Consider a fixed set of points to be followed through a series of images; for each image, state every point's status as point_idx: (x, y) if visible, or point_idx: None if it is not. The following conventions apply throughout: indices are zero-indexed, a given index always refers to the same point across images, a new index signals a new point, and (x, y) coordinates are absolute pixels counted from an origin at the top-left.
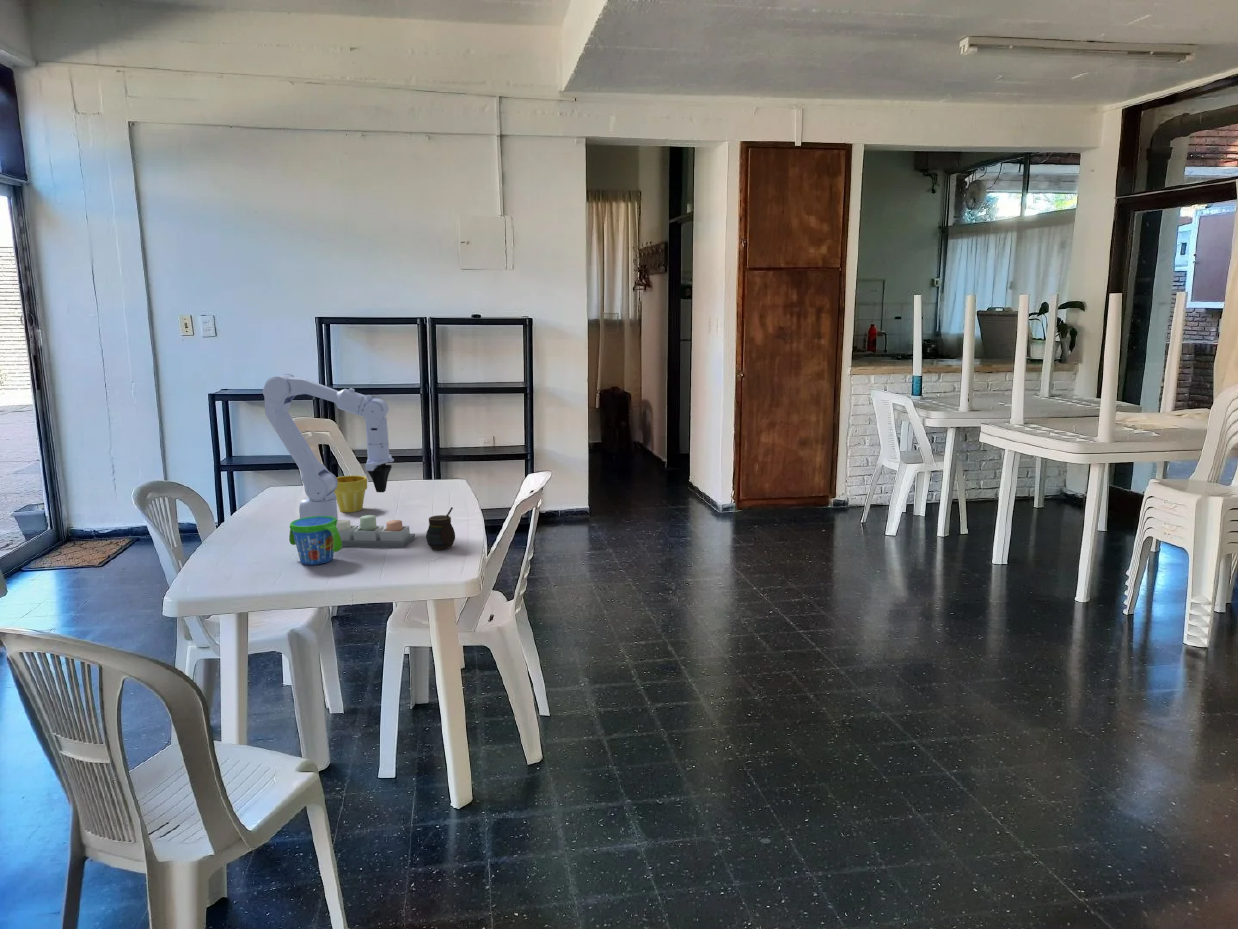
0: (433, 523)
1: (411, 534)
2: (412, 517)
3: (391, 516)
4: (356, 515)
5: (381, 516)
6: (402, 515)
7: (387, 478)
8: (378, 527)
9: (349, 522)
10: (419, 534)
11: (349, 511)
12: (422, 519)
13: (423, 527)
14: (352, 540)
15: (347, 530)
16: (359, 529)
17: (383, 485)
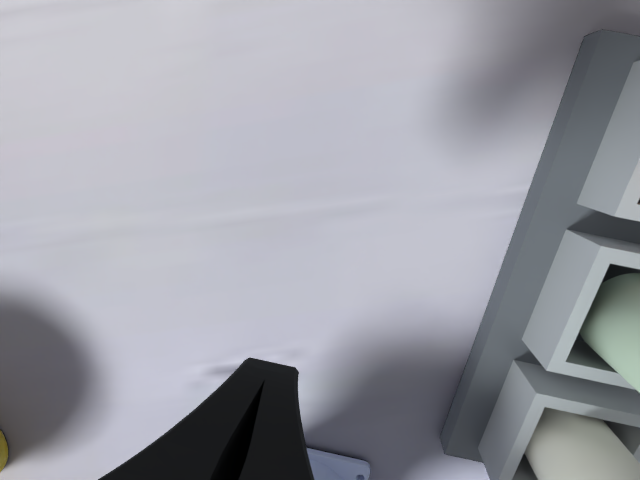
0: None
1: (615, 53)
2: (80, 135)
3: (64, 253)
4: (54, 408)
5: (66, 301)
6: (40, 199)
7: (164, 446)
8: (599, 273)
9: (620, 453)
10: (494, 23)
11: (3, 443)
12: (125, 64)
13: (321, 24)
14: None
15: (608, 428)
16: None
17: (301, 424)
